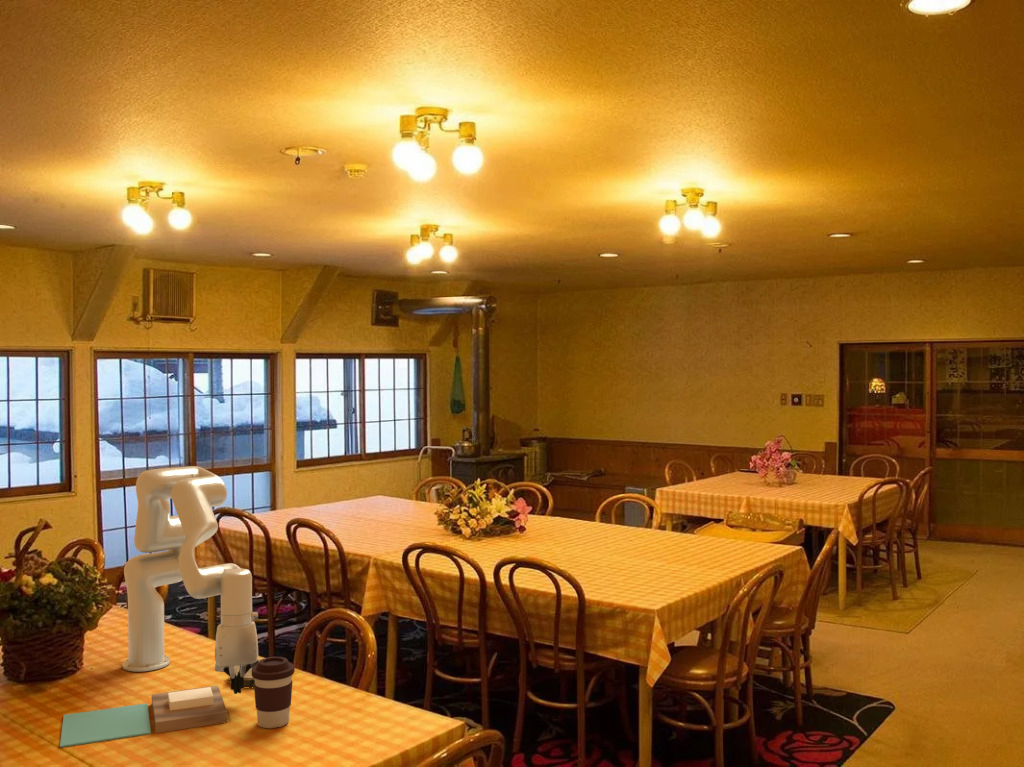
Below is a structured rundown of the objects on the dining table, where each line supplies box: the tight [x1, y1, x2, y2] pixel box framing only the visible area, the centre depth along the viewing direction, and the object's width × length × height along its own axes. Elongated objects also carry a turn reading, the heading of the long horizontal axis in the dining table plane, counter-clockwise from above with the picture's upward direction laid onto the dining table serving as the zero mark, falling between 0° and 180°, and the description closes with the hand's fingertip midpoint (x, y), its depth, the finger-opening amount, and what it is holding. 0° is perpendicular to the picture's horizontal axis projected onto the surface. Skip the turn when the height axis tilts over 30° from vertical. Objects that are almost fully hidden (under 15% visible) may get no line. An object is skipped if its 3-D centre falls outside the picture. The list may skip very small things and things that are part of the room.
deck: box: [151, 684, 228, 734], centre depth 224 cm, size 20×16×2 cm
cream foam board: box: [168, 686, 214, 711], centre depth 224 cm, size 7×10×2 cm
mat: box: [59, 702, 152, 748], centre depth 217 cm, size 20×19×1 cm
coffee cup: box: [252, 656, 296, 729], centre depth 218 cm, size 10×10×15 cm
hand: (237, 691), depth 229 cm, fingers closed
